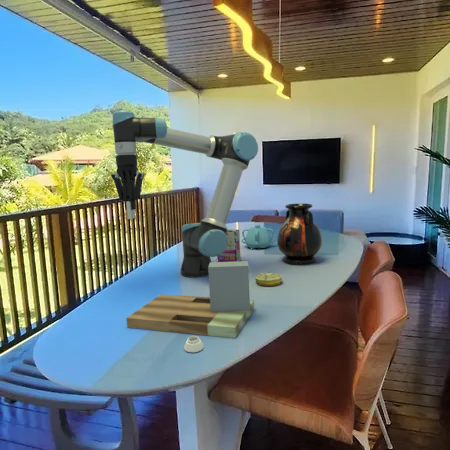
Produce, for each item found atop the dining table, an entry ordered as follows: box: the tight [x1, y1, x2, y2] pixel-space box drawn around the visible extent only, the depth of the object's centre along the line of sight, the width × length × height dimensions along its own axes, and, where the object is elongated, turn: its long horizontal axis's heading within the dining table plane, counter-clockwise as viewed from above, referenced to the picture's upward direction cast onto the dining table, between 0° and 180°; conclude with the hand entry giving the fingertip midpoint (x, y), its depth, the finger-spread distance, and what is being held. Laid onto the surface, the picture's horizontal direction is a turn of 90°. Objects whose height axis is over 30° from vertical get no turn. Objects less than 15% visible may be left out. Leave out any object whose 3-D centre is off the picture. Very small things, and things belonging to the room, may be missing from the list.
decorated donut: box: [254, 272, 283, 287], centre depth 149 cm, size 10×11×4 cm
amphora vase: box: [277, 203, 323, 266], centre depth 180 cm, size 22×22×28 cm
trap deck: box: [126, 293, 255, 339], centre depth 116 cm, size 22×34×3 cm, turn 72°
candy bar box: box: [216, 228, 242, 262], centre depth 187 cm, size 11×5×16 cm, turn 62°
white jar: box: [183, 335, 205, 354], centre depth 96 cm, size 5×3×5 cm
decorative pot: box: [241, 224, 275, 249], centre depth 219 cm, size 16×16×14 cm
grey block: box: [208, 260, 251, 312], centre depth 114 cm, size 6×12×14 cm, turn 88°
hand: (131, 218), depth 139 cm, fingers closed
